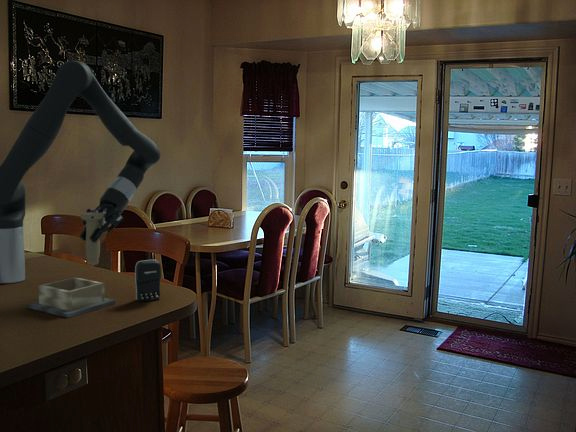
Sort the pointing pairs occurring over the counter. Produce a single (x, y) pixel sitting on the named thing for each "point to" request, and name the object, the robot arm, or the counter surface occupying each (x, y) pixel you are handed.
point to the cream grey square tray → (71, 297)
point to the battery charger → (147, 280)
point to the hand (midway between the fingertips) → (87, 239)
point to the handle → (91, 225)
